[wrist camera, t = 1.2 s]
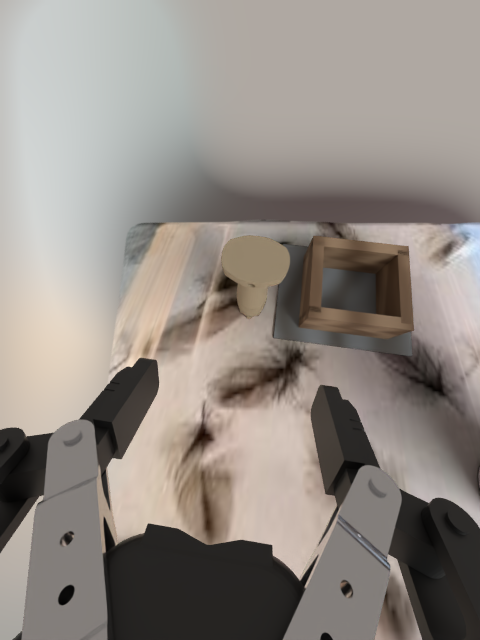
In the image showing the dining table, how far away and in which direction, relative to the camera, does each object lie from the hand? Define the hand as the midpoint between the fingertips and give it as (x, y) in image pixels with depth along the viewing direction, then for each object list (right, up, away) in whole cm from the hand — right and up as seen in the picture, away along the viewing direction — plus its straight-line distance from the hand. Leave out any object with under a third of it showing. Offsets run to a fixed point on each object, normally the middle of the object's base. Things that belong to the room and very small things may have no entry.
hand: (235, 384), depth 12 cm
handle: (+2, +5, +25) cm, 25 cm away
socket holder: (+16, +7, +25) cm, 31 cm away
